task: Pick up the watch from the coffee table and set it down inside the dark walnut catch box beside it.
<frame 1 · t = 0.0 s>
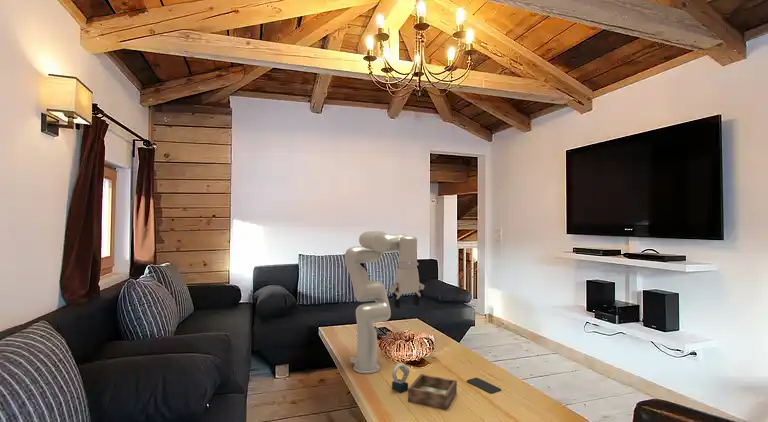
hand: (406, 306, 173), 37 cm above the table, tool pointing down, fingers open, 9 cm apart
catch box: (432, 397, 172), on the table
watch: (400, 390, 179), on the table
phone: (483, 387, 185), on the table
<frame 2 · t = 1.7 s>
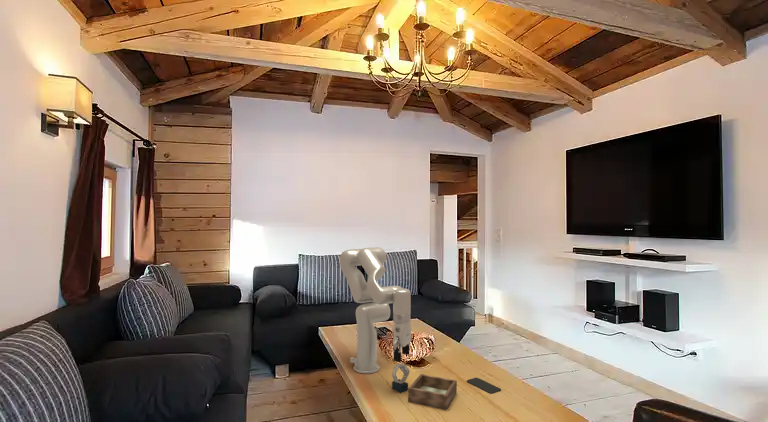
hand: (401, 357, 178), 14 cm above the table, tool pointing down, fingers open, 9 cm apart
nothing on the table moved.
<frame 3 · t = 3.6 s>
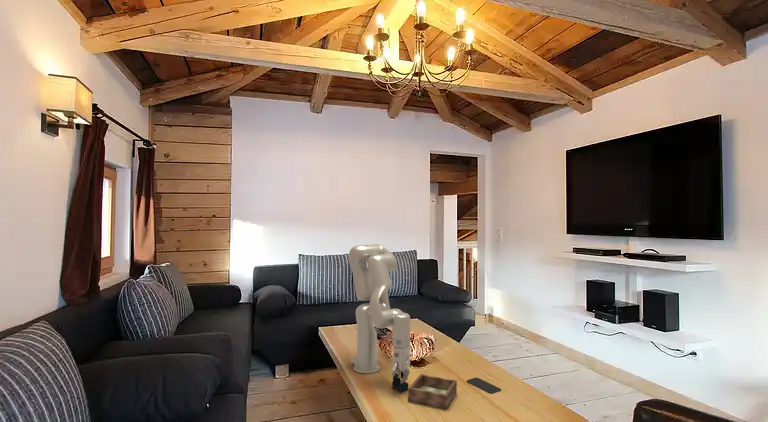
hand: (400, 382, 179), 3 cm above the table, tool pointing down, fingers closed on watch, 8 cm apart
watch: (400, 390, 179), on the table, touching gripper
everything else where it was.
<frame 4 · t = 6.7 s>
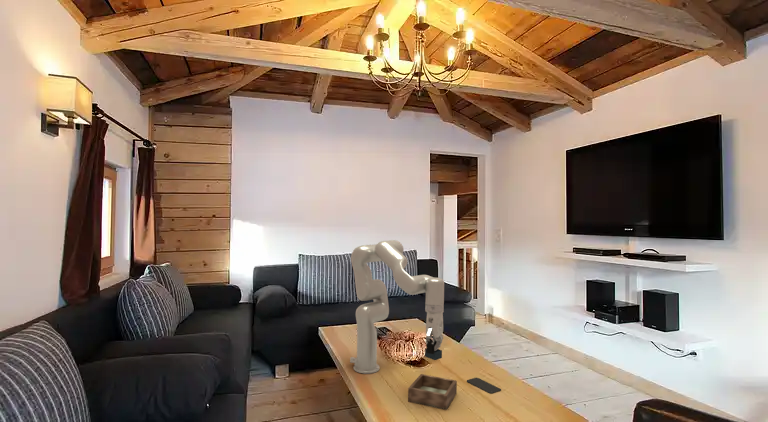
hand: (433, 349, 172), 20 cm above the table, tool pointing down, fingers closed on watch, 8 cm apart
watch: (433, 357, 172), point 17 cm above the table, touching gripper
everything else where it was.
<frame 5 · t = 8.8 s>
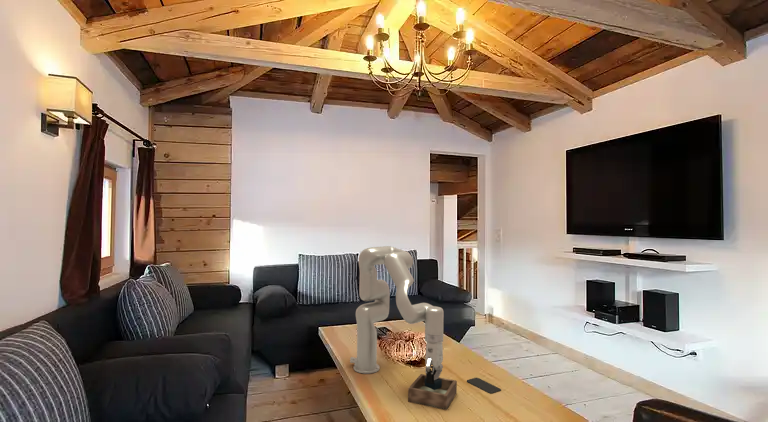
hand: (433, 379, 172), 8 cm above the table, tool pointing down, fingers closed on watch, 8 cm apart
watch: (433, 386, 172), point 4 cm above the table, touching gripper
everything else where it was.
when the fingers open (6 cm above the table, at t = 10.2 s): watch drops 2 cm, resting on catch box.
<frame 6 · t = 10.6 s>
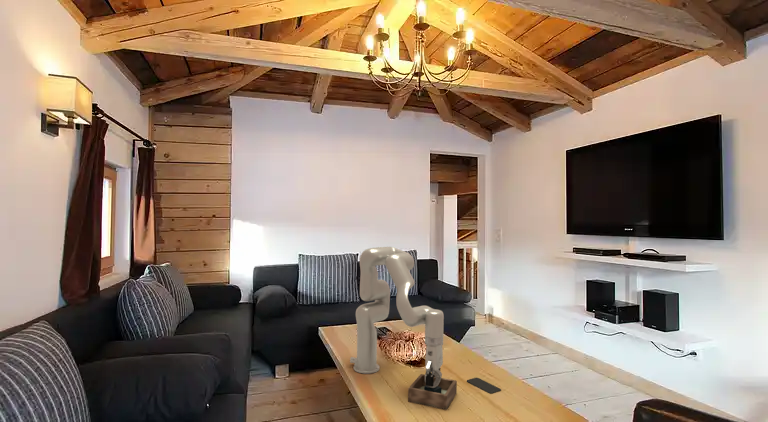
hand: (433, 381, 172), 7 cm above the table, tool pointing down, fingers open, 9 cm apart
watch: (432, 394, 173), point 1 cm above the table, touching catch box, gripper
everything else where it was.
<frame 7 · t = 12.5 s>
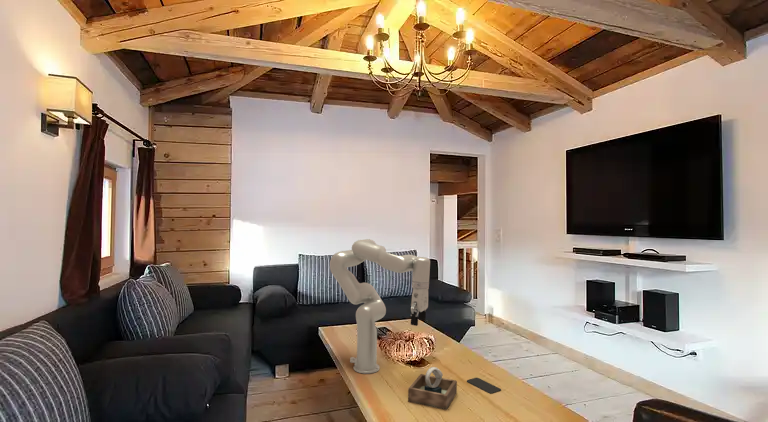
hand: (418, 322, 187), 27 cm above the table, tool pointing down, fingers open, 9 cm apart
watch: (432, 394, 173), point 1 cm above the table, touching catch box
everything else where it was.
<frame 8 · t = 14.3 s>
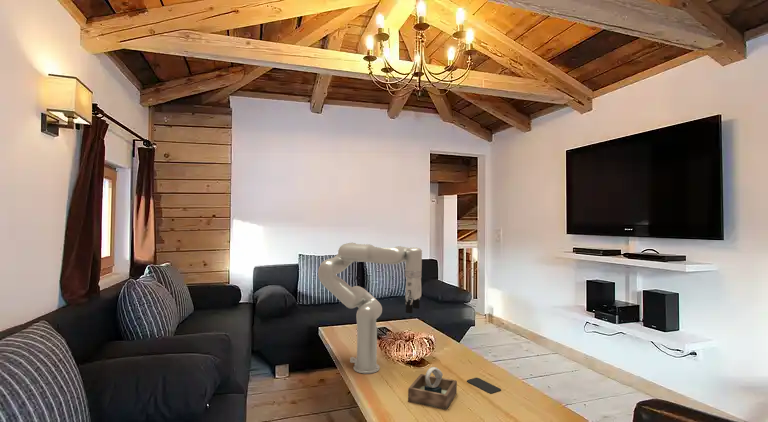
hand: (412, 310, 195), 30 cm above the table, tool pointing down, fingers open, 9 cm apart
nothing on the table moved.
at the end: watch inside the target area on the catch box (0.8 cm from its centre), point 0.8 cm above the catch box's base; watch tilted 0°; the gripper is holding nothing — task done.
